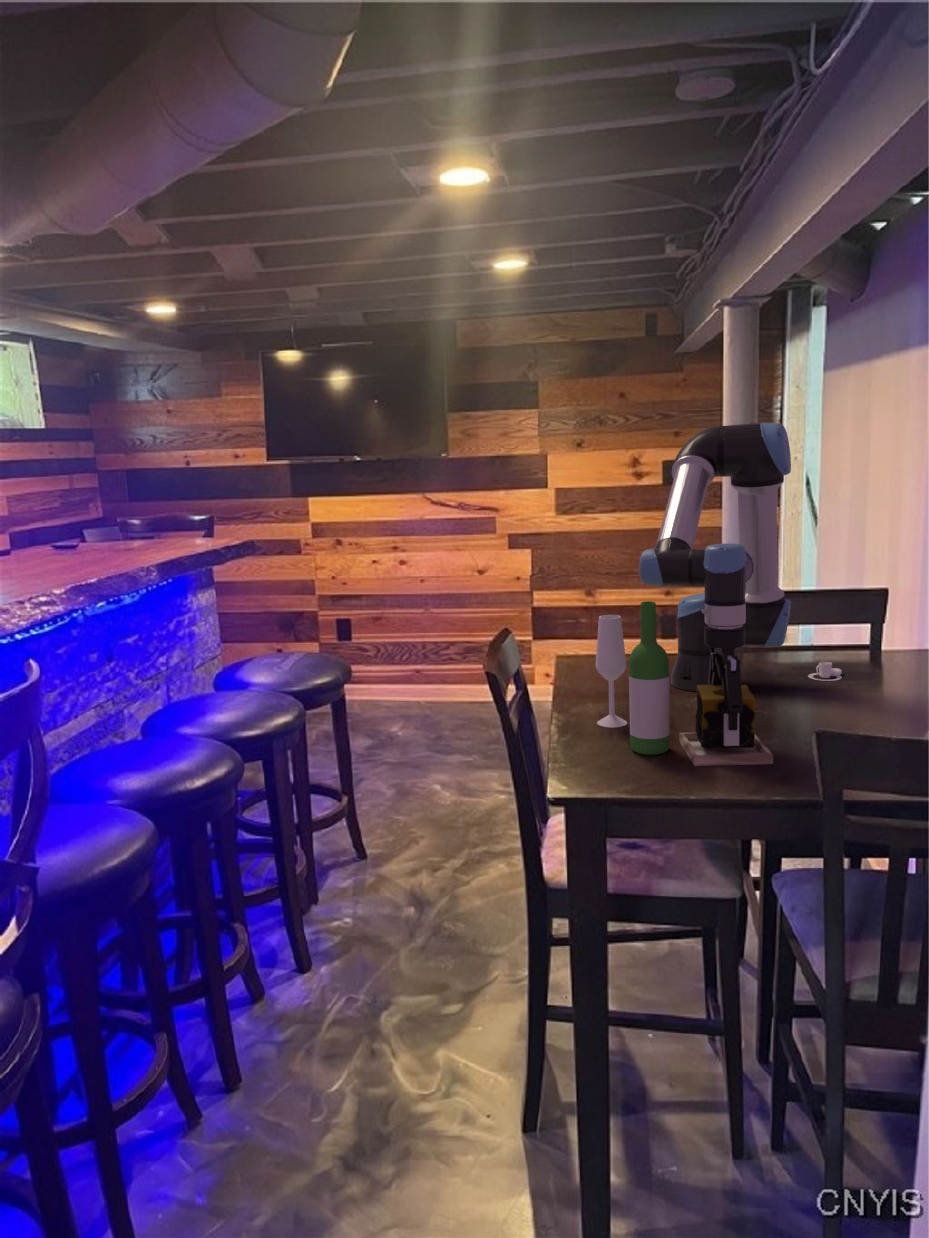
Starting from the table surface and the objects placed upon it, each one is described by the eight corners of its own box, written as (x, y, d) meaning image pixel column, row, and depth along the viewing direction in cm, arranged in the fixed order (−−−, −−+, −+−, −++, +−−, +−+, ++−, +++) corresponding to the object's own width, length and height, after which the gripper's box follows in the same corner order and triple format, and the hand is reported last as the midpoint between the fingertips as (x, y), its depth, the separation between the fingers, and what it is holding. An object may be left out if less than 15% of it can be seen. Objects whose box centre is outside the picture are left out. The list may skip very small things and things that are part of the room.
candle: (695, 732, 172) (694, 684, 170) (746, 732, 170) (747, 684, 169) (700, 748, 162) (700, 698, 160) (755, 749, 160) (756, 698, 159)
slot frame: (679, 741, 174) (679, 732, 174) (751, 738, 173) (751, 730, 173) (694, 765, 160) (694, 756, 160) (773, 763, 159) (773, 754, 159)
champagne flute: (591, 721, 190) (588, 616, 186) (616, 716, 193) (614, 612, 189) (607, 729, 184) (605, 620, 180) (633, 724, 187) (631, 617, 182)
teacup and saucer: (837, 673, 221) (837, 658, 220) (850, 681, 213) (850, 665, 213) (803, 675, 221) (803, 660, 221) (815, 683, 214) (815, 667, 213)
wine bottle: (645, 759, 165) (643, 607, 159) (622, 747, 172) (619, 602, 167) (677, 752, 168) (677, 602, 162) (654, 741, 175) (652, 598, 170)
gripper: (692, 615, 174) (692, 718, 178) (718, 638, 151) (718, 756, 155) (729, 613, 173) (729, 717, 177) (761, 636, 151) (760, 755, 155)
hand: (724, 735), depth 166 cm, fingers closed on candle, 10 cm apart
